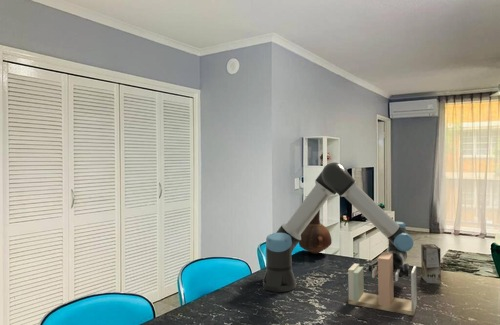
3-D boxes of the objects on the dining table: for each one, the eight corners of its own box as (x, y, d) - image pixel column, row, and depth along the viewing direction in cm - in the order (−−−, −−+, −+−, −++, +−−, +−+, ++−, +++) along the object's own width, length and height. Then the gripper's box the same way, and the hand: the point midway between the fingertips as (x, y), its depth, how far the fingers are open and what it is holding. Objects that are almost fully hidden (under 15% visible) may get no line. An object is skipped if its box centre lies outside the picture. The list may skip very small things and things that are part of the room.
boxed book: (378, 304, 140) (377, 258, 140) (383, 296, 148) (382, 252, 148) (389, 306, 138) (388, 259, 138) (393, 297, 146) (392, 253, 146)
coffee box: (441, 283, 166) (441, 248, 166) (426, 283, 167) (425, 248, 167) (435, 277, 175) (435, 244, 175) (421, 276, 176) (420, 243, 176)
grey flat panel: (411, 310, 134) (411, 272, 134) (414, 301, 143) (413, 265, 143) (413, 311, 134) (413, 273, 133) (416, 301, 142) (416, 266, 142)
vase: (292, 250, 232) (292, 203, 232) (321, 247, 237) (320, 202, 237) (307, 260, 208) (307, 208, 208) (339, 257, 213) (338, 206, 213)
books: (348, 299, 146) (348, 269, 145) (354, 291, 154) (354, 263, 154) (358, 301, 144) (357, 271, 144) (363, 292, 152) (363, 264, 152)
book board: (348, 303, 145) (348, 299, 145) (355, 294, 155) (355, 291, 155) (413, 315, 133) (413, 311, 133) (416, 305, 143) (416, 301, 143)
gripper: (419, 273, 154) (413, 290, 135) (369, 266, 165) (357, 281, 145) (419, 255, 154) (413, 269, 135) (369, 250, 165) (357, 262, 145)
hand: (384, 276), depth 140 cm, fingers open, 8 cm apart
